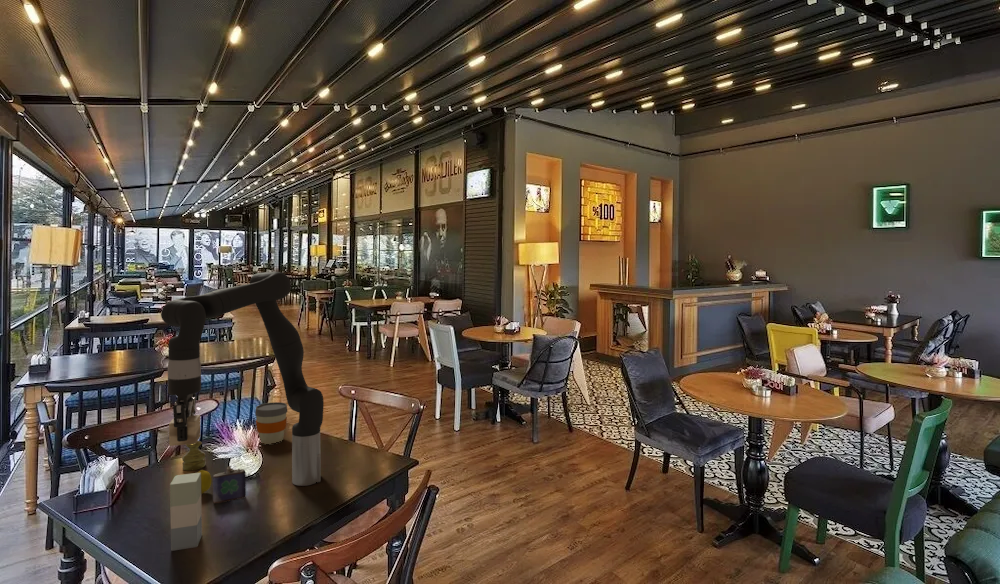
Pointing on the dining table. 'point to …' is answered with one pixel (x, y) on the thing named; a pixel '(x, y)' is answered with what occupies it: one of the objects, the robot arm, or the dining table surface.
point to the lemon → (205, 481)
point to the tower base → (186, 536)
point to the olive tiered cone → (194, 458)
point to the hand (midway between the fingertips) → (185, 436)
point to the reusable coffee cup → (271, 421)
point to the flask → (229, 485)
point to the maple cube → (192, 431)
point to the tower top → (185, 489)
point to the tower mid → (185, 515)
